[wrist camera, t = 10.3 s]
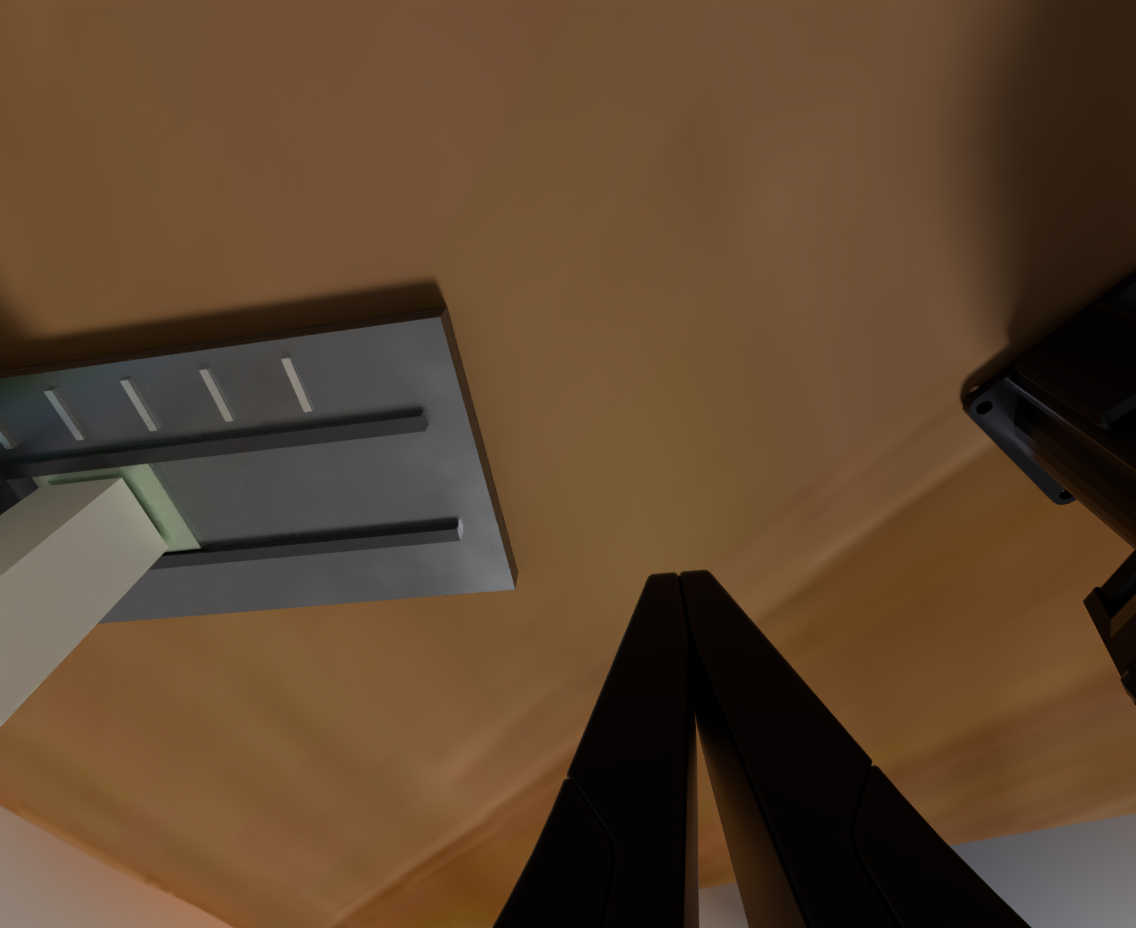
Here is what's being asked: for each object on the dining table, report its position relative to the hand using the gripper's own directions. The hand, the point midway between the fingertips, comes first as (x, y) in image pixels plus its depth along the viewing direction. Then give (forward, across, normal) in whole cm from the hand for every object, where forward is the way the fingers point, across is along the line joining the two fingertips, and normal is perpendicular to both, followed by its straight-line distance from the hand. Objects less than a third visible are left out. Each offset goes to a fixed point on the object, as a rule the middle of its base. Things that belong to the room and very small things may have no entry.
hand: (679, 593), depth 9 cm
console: (+13, +16, +5) cm, 21 cm away
